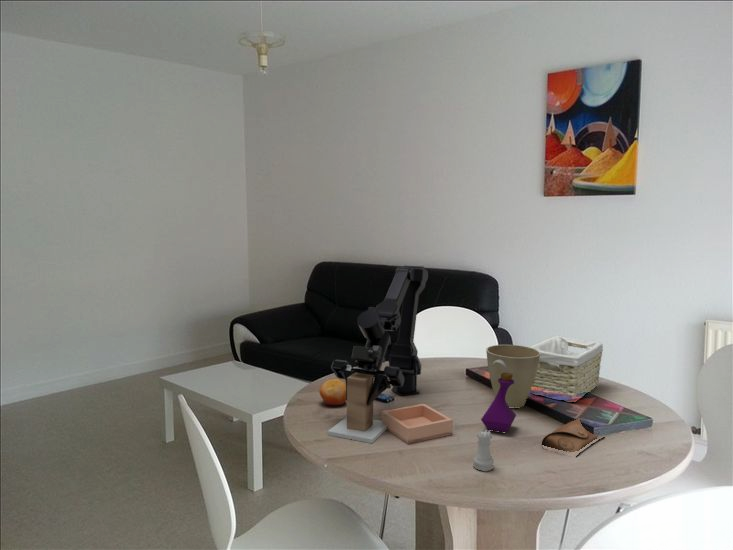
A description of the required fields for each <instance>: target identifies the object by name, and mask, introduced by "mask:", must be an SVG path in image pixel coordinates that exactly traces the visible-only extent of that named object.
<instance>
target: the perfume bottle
mask: <svg viewBox="0 0 733 550" xmlns="http://www.w3.org/2000/svg"><path fill="white" fill-rule="evenodd" d="M495 362H498V363H500V364H502V365H503V366H504V367H505V368H506V364H505V363H504V362H503V361H502V360H496V361H494V362H493V364H494V363H495ZM493 364H492V367H493ZM512 376H513V374H512V373H507V368H506V373H502V374H501V378H499V379H498V382H499V383H500V389H499V391H498V393H497V395H496V397H495V396H494V399H493V401H492V402H491V404H490V405H489V406H488V408H487V410H486V411H485V413H484V415H483V416H482V418H481V419H480V420H481V422H482V423H483V425H484V426H485V427H486V430H487V431H489V430H493V431H499V432H506V433H507V432H508V431H509V429H510V428H511V427H512V424H513V423H514V421H515V419H516V417H517V414H516V413H515V411H513V409H510V408H509V406H508V405H507V403H506V400H505V396H506V392H507V390H508V388H509V387H510V386H511V385H512V384H514V380H512Z"/></svg>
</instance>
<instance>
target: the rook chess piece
mask: <svg viewBox="0 0 733 550" xmlns="http://www.w3.org/2000/svg"><path fill="white" fill-rule="evenodd" d="M491 432H492V431H489V430H488V429H479V430H478V433H477V434H476V437H477V439H478V441H477V444H478V445H477V453H476V454H475V456H474V457H473V464H472V465H473V467H474V468H475V470H477V469H478V471H479V470H482V471H481V472H489V471H488V470H490V471H492V470H493V469H494V467H495V466H494V463H495V462H494V459H493V457H492V455H491V440H492V438H493V435H492V433H491ZM491 469H492V470H491Z"/></svg>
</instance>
